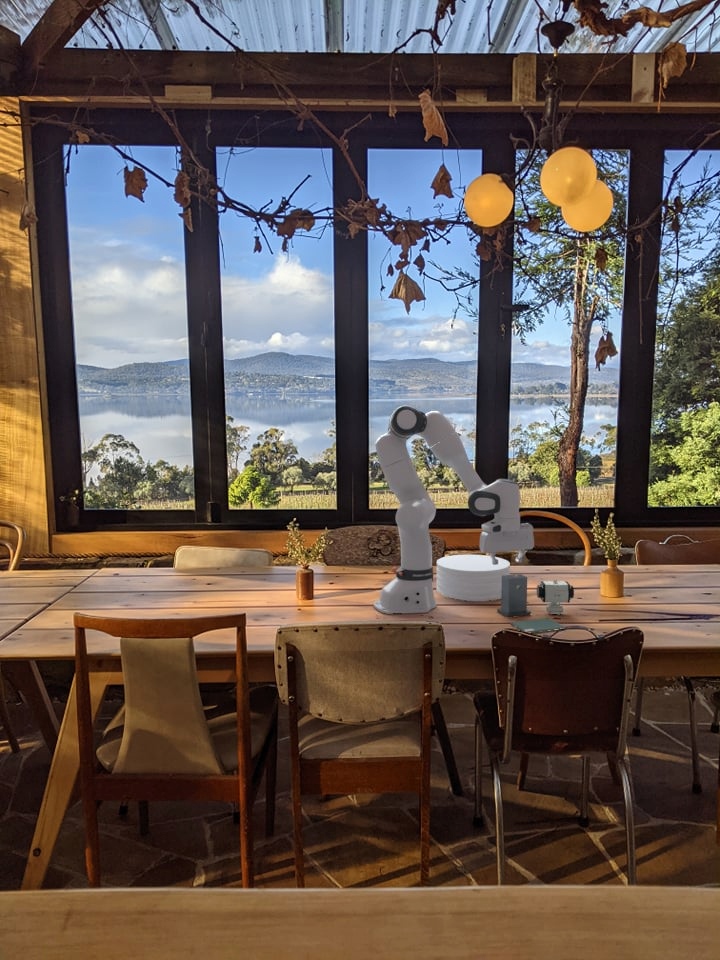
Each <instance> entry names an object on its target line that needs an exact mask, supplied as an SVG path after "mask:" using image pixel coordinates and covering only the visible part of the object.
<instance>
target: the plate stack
mask: <svg viewBox="0 0 720 960" xmlns="http://www.w3.org/2000/svg"><path fill="white" fill-rule="evenodd" d="M495 558H496V559H498V564H497V565H493V564H492V558H491V557H490V555H483V554H454V555H447V556H443V557H441V558H438V559H437V560H436V593H437V594H439V595H440V594H441V595H440V596H442V595H443V596H442V597H445V596H446V597H445V598H448V597H450V598H449V599H451V598H455V599H454V600H456V599H461V600H460V601H464V600H467V602H489V600H491V601H497V599H498V600H501V589H502V575H511V570H510V568H511V563H510V561H509V560H507V559H504V558H502V557H497V556H495Z"/></svg>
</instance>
